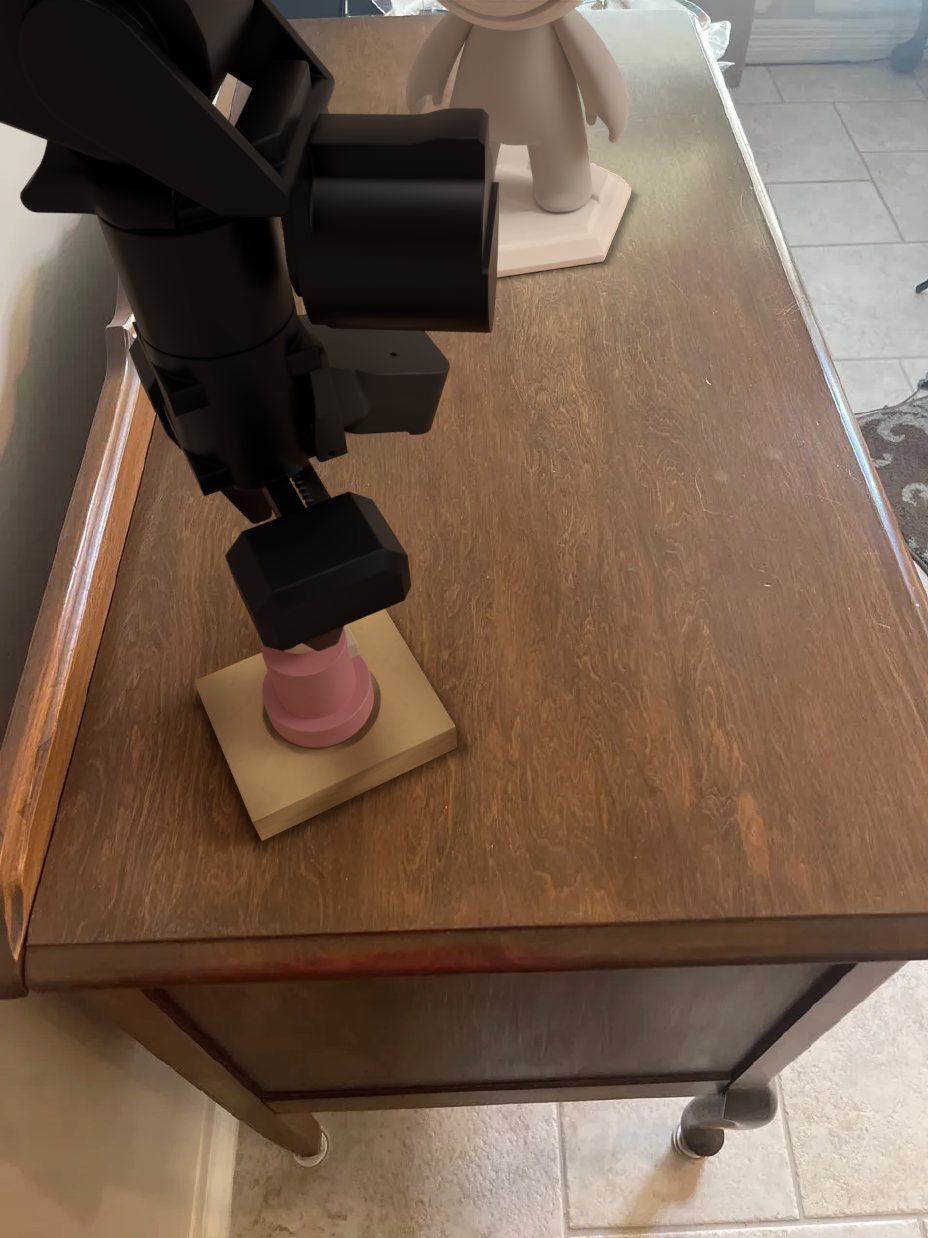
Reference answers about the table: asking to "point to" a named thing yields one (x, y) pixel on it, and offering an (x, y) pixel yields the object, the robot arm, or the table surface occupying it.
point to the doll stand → (326, 776)
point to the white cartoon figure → (534, 122)
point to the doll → (317, 692)
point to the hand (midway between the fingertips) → (292, 579)
